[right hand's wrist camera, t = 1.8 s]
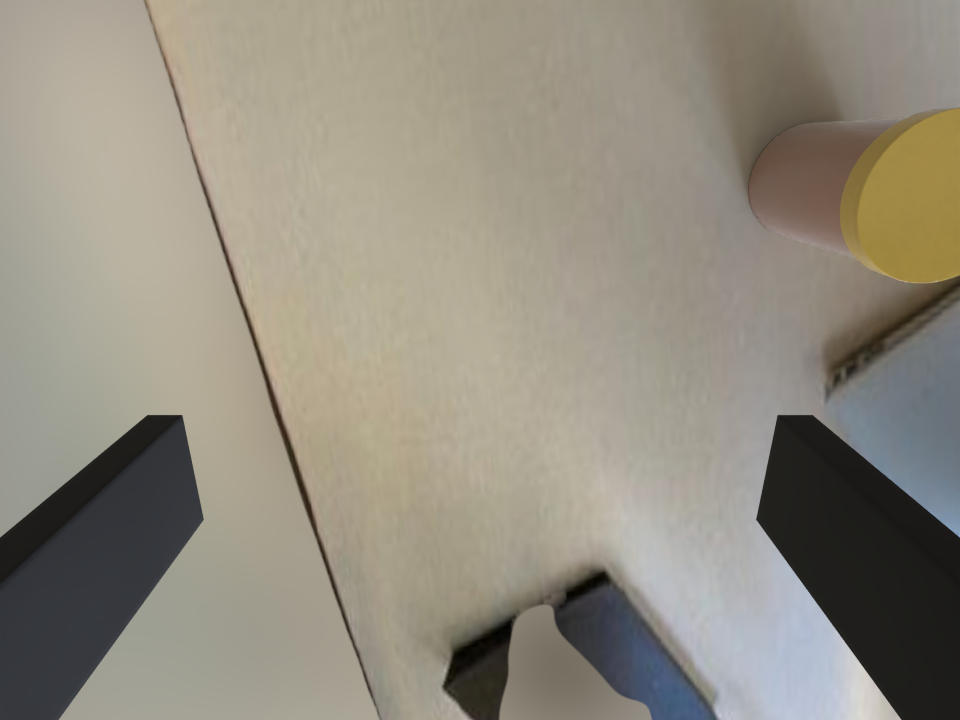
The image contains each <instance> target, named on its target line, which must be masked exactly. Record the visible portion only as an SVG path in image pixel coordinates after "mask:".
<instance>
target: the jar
mask: <svg viewBox="0 0 960 720" xmlns="http://www.w3.org/2000/svg"><path fill="white" fill-rule="evenodd" d="M904 119H906V118H893V119H872V120H852V121H832V122H812V123H804V124H800V125H797V126H794V127H792V128H790V129H787V130H786V131H784V132H782V133H781V134H779V135H778V136H777V137H776V138H774V139H773V140H772V141H771V142H770V143H769V144H768V145H767V146H766V147H765V149H764V150H763V151H762V152H761V154H760V156H759V157H758V159H757V161H756V163H755V165H754V167H753V170H752V172H751V176H750V181H749V200H750V204H751V208H752V210H753V212H754V215H755V216H756V218H757V219H758V221H759V222H760V223H761V224H762V225H763V226H764V227H766V228H767V229H768V230H770V231H772V232H774V233H776V234H779V235H782V236H785V237H788V238H791V239H795V240H798V241H801V242H804V243H807V244H810V245H813V246H816V247H820V248H823V249H826V250H829V251H832V252H835V253H838V254H841V255H845V256H848V257H851V258H854V259H856V258H855V257H854V256H853V254H852V253H851V252H850V250H849V248H848V247H847V245H846V243H845V240H844V238H843V234H842V230H841V225H840V205H841V199H842V194H843V191H844V187H845V184H846V182H847V179H848V177H849V175H850V173H851V171H852V169H853V167H854V166H855V164H856V162H857V161H858V159H859V158H860V157H861V155H862V154H863V152H864V151H865V150H866V149H867V148H868V147H869V146H870V144H871V143H872V142H873V141H874V140H875V139H877V138H878V137H879V136H880V135H881V134H882V133H884V132H885V131H886V130H888V129H889V128H890V127H892V126H893V125H895V124H897V123H898V122H900V121H902V120H904Z"/></svg>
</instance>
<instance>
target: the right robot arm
mask: <svg viewBox="0 0 960 720" xmlns="http://www.w3.org/2000/svg"><path fill="white" fill-rule="evenodd" d="M203 520H204V519H203V514H202V509H201V504H200V499H199V495H198V490H197V485H196V480H195V475H194V470H193V465H192V460H191V455H190V451H189V446H188V441H187V436H186V431H185V426H184V421H183V416H182V415H147V416H146V417H145V418H144V419H142V420H141V421H140V422H139V423H138V424H136V425H135V426H134V427H133V428H132V429H130V430H129V431H128V432H127V433H126V434H124V435H123V436H122V437H121V438H119V439H118V440H117V441H116V442H115V443H113V444H112V445H111V446H110V447H109V448H107V449H106V450H105V451H104V452H103V453H101V454H100V455H99V456H98V457H97V458H95V459H94V460H93V461H92V462H91V463H89V464H88V465H87V466H86V467H85V468H83V469H82V470H81V471H80V472H79V473H77V474H76V475H75V476H74V477H73V478H71V479H70V480H69V481H68V482H67V483H65V484H64V485H63V486H62V487H61V488H59V489H58V490H57V491H56V492H55V493H53V494H52V495H51V496H50V497H49V498H47V499H46V500H45V501H44V502H42V503H41V504H40V505H39V506H38V507H36V508H35V509H34V510H33V511H32V512H30V513H29V514H28V515H27V516H26V517H24V518H23V519H22V520H21V521H20V522H18V523H17V524H16V525H15V526H14V527H12V528H11V529H10V530H9V531H8V532H6V533H5V534H4V535H3V536H2V537H0V720H59V718H60V717H61V716H62V714H63V713H64V711H65V710H66V709H67V707H68V706H69V704H70V703H71V702H72V700H73V699H74V698H75V696H76V695H77V694H78V692H79V691H80V689H81V688H82V687H83V685H84V684H85V682H86V681H87V680H88V678H89V677H90V675H91V674H92V673H93V671H94V670H95V669H96V667H97V666H98V665H99V663H100V662H101V660H102V659H103V658H104V656H105V655H106V654H107V652H108V651H109V649H110V648H111V647H112V645H113V644H114V643H115V641H116V640H117V638H118V637H119V636H120V634H121V633H122V632H123V630H124V629H125V627H126V626H127V625H128V623H129V622H130V620H131V619H132V618H133V616H134V615H135V614H136V612H137V611H138V609H139V608H140V607H141V605H142V604H143V603H144V601H145V600H146V598H147V597H148V596H149V594H150V593H151V591H152V590H153V589H154V587H155V586H156V585H157V583H158V582H159V580H160V579H161V578H162V576H163V575H164V574H165V572H166V571H167V569H168V568H169V567H170V565H171V564H172V563H173V561H174V560H175V558H176V557H177V556H178V554H179V553H180V551H181V550H182V549H183V547H184V546H185V545H186V543H187V542H188V541H189V539H190V538H191V536H192V535H193V534H194V532H195V531H196V530H197V528H198V527H199V525H200V524H201V523H202V521H203ZM756 520H757V521H758V523H759V524H760V525H761V527H762V528H763V530H764V531H765V532H766V534H767V535H768V536H769V538H770V539H771V541H772V542H773V543H774V545H775V546H776V547H777V549H778V550H779V552H780V553H781V554H782V556H783V557H784V558H785V560H786V561H787V563H788V564H789V565H790V567H791V568H792V569H793V571H794V572H795V574H796V575H797V576H798V578H799V579H800V581H801V582H802V583H803V585H804V586H805V587H806V589H807V590H808V592H809V593H810V594H811V596H812V597H813V598H814V600H815V601H816V603H817V604H818V605H819V607H820V608H821V609H822V611H823V612H824V614H825V615H826V616H827V618H828V619H829V620H830V622H831V623H832V625H833V626H834V627H835V629H836V630H837V632H838V633H839V634H840V636H841V637H842V638H843V640H844V641H845V643H846V644H847V645H848V647H849V648H850V649H851V651H852V652H853V654H854V655H855V656H856V658H857V659H858V660H859V662H860V663H861V665H862V666H863V667H864V669H865V670H866V671H867V673H868V674H869V676H870V677H871V678H872V680H873V681H874V682H875V684H876V685H877V687H878V688H879V689H880V691H881V692H882V694H883V695H884V696H885V698H886V699H887V700H888V702H889V703H890V705H891V706H892V707H893V709H894V710H895V711H896V713H897V714H898V716H899V717H900V718H901V720H960V537H958V536H957V535H956V534H955V533H954V532H952V531H951V530H950V529H949V528H948V527H946V526H945V525H944V524H943V523H942V522H940V521H939V520H938V519H937V518H936V517H934V516H933V515H932V514H931V513H930V512H928V511H927V510H926V509H925V508H924V507H922V506H921V505H920V504H919V503H918V502H916V501H915V500H914V499H913V498H912V497H910V496H909V495H908V494H907V493H905V492H904V491H903V490H902V489H901V488H899V487H898V486H897V485H896V484H895V483H893V482H892V481H891V480H890V479H889V478H887V477H886V476H885V475H884V474H883V473H881V472H880V471H879V470H878V469H877V468H875V467H874V466H873V465H872V464H871V463H869V462H868V461H867V460H866V459H865V458H863V457H862V456H861V455H860V454H859V453H857V452H856V451H855V450H854V449H853V448H851V447H850V446H849V445H848V444H847V443H845V442H844V441H843V440H842V439H841V438H839V437H838V436H837V435H836V434H834V433H833V432H832V431H831V430H830V429H828V428H827V427H826V426H825V425H824V424H822V423H821V422H820V421H819V420H818V419H816V418H815V417H814V416H813V415H778V416H777V421H776V426H775V431H774V436H773V441H772V446H771V451H770V455H769V460H768V465H767V470H766V475H765V480H764V485H763V489H762V494H761V499H760V504H759V509H758V514H757V519H756Z"/></svg>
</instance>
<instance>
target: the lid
mask: <svg viewBox="0 0 960 720" xmlns="http://www.w3.org/2000/svg"><path fill="white" fill-rule="evenodd" d="M840 225H841V230H842V234H843V238H844V240H845V243H846V245H847V247H848V248H849V250H850V252H851V253H852V254H853V256H854V257H855V258H856V259H857V260H858V261H859V262H860V263H861V264H863V265H864V266H865V267H867V268H869V269H870V270H872V271H875V272H877V273H880V274H882V275H885V276H888V277H891V278H894V279H897V280H901V281H905V282H910V283H932V282H939V281H943V280H947V279H950V278H953V277H956V276H958V275H960V108H946V109H935V110H929V111H925V112H921V113H918V114H915V115H913V116H910V117H908V118H906V119H904V120H902V121H900V122H898V123H897V124H895V125H893V126H892V127H890V128H889V129H888V130H886V131H885V132H884V133H882V134H881V135H880V136H879V137H878V138H877V139H875V140H874V141H873V142H872V143H871V144H870V146H869V147H868V148H867V149H866V150H865V151H864V152H863V154H862V155H861V157H860V158H859V159H858V161H857V162H856V164H855V166H854V167H853V169H852V171H851V173H850V175H849V177H848V179H847V182H846V184H845V187H844V191H843V194H842V199H841V205H840Z"/></svg>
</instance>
